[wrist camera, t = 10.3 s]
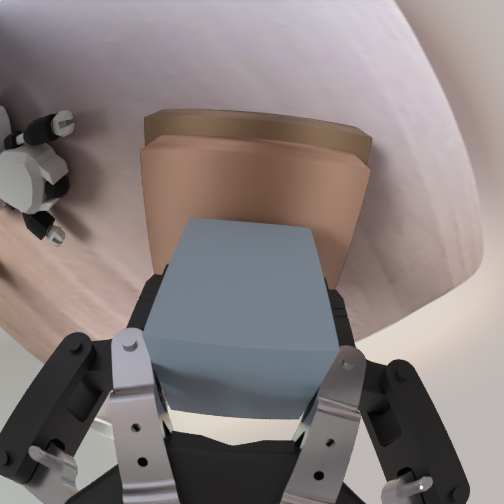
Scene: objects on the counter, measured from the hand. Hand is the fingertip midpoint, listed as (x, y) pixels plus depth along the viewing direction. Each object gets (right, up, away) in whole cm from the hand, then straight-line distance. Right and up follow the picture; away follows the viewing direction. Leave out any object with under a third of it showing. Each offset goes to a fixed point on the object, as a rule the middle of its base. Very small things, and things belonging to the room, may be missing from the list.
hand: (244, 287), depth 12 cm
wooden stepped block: (0, +5, +7) cm, 8 cm away
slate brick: (0, +1, +1) cm, 1 cm away
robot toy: (-19, +10, +5) cm, 22 cm away
